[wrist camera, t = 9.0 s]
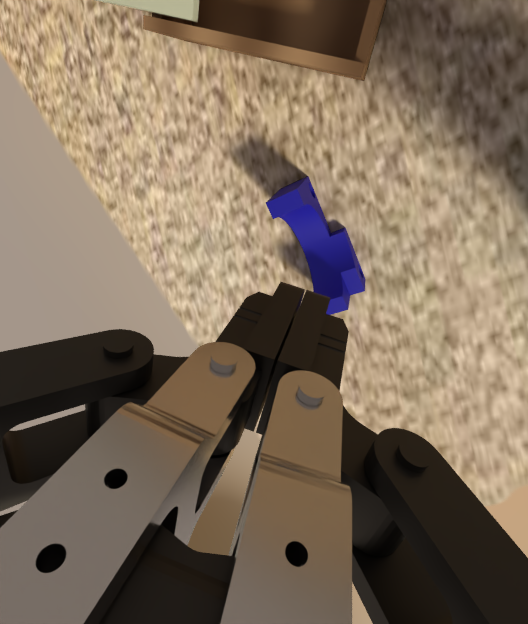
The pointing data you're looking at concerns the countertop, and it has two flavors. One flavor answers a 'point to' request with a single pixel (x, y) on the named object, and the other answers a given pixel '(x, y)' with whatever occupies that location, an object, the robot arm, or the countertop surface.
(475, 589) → the robot arm
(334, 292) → the blue curved stepped block
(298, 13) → the walnut box
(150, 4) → the cover plate
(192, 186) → the countertop surface
